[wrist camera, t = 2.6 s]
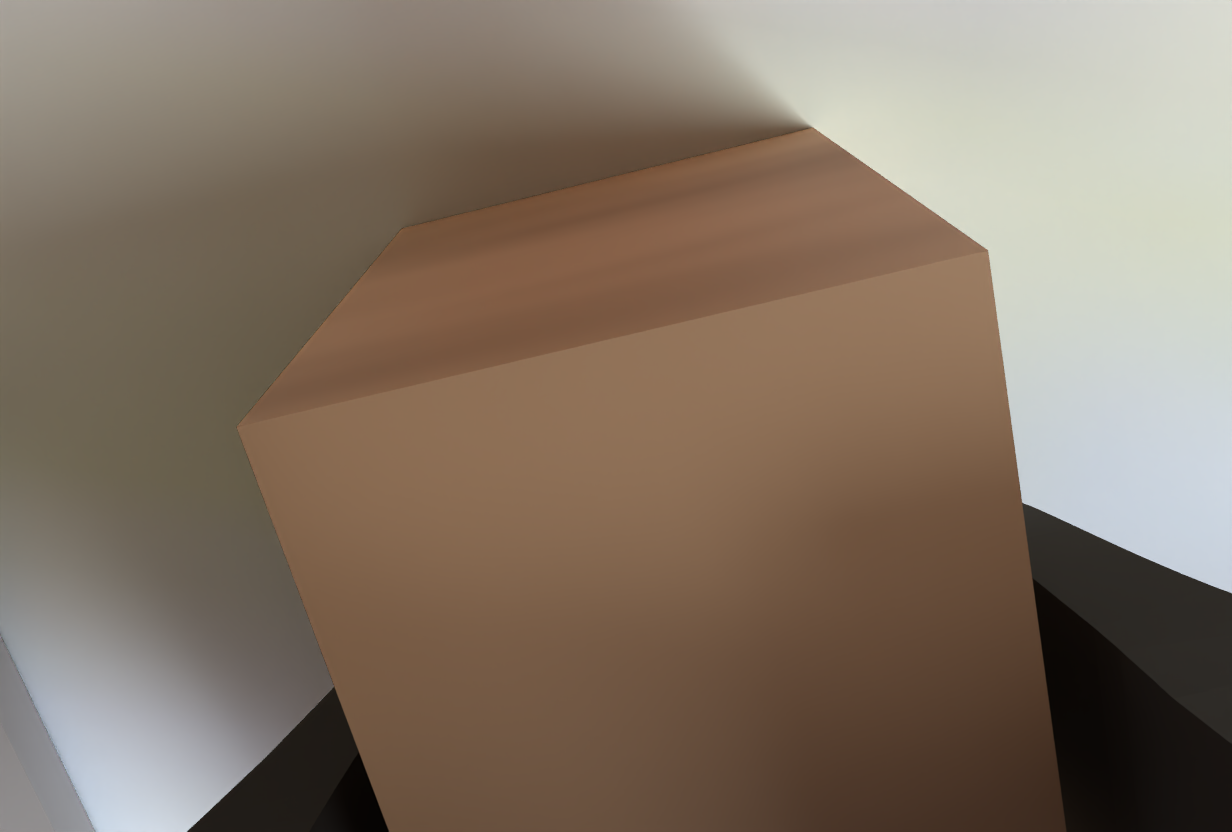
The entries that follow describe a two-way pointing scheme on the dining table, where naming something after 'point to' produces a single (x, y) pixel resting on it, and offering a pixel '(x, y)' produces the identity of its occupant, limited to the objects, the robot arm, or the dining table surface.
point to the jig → (31, 765)
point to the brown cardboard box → (672, 512)
